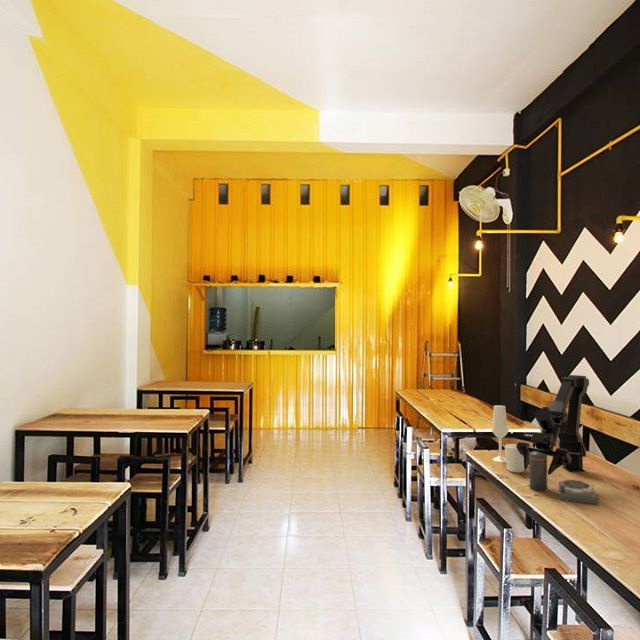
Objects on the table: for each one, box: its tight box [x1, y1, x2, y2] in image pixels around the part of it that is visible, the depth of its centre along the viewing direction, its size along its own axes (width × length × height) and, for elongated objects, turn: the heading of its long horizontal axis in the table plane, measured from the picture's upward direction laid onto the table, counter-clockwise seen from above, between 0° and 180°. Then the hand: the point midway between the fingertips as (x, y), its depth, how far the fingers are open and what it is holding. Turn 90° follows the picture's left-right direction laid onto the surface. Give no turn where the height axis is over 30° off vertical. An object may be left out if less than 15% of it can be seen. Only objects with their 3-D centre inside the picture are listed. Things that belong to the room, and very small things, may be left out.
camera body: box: [558, 479, 597, 505], centre depth 175 cm, size 13×11×4 cm
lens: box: [528, 452, 548, 492], centre depth 183 cm, size 6×6×13 cm
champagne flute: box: [491, 404, 509, 463], centre depth 221 cm, size 7×7×24 cm
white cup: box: [504, 443, 525, 473], centre depth 206 cm, size 8×8×10 cm
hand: (536, 471), depth 182 cm, fingers open, 8 cm apart
